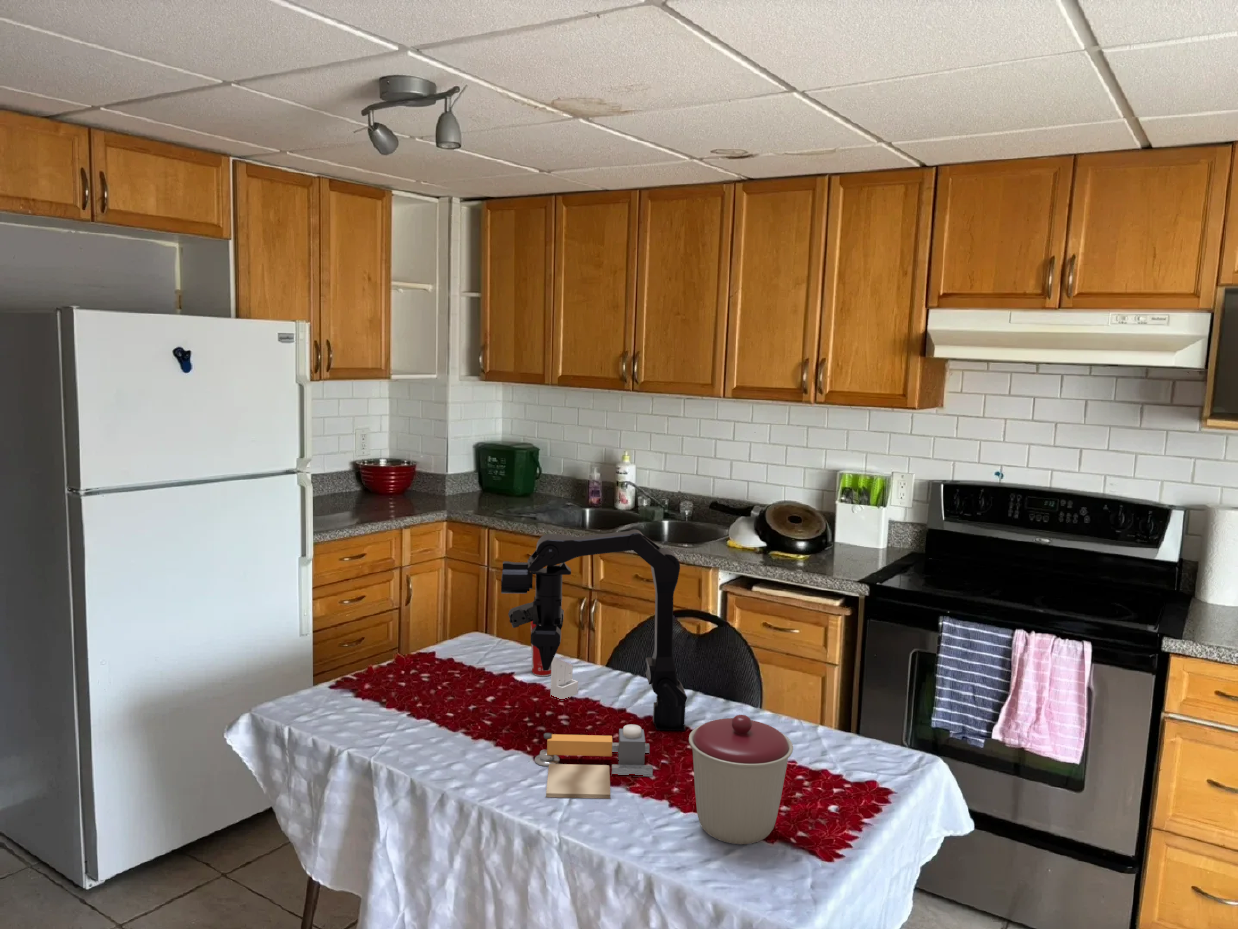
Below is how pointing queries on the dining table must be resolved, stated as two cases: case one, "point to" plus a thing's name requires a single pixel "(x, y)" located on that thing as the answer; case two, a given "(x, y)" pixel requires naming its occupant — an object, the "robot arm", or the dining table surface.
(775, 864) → the dining table surface
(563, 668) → the white angled block
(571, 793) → the board
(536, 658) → the beverage can
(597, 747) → the latch
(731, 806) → the canister
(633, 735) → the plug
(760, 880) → the dining table surface
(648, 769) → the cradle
